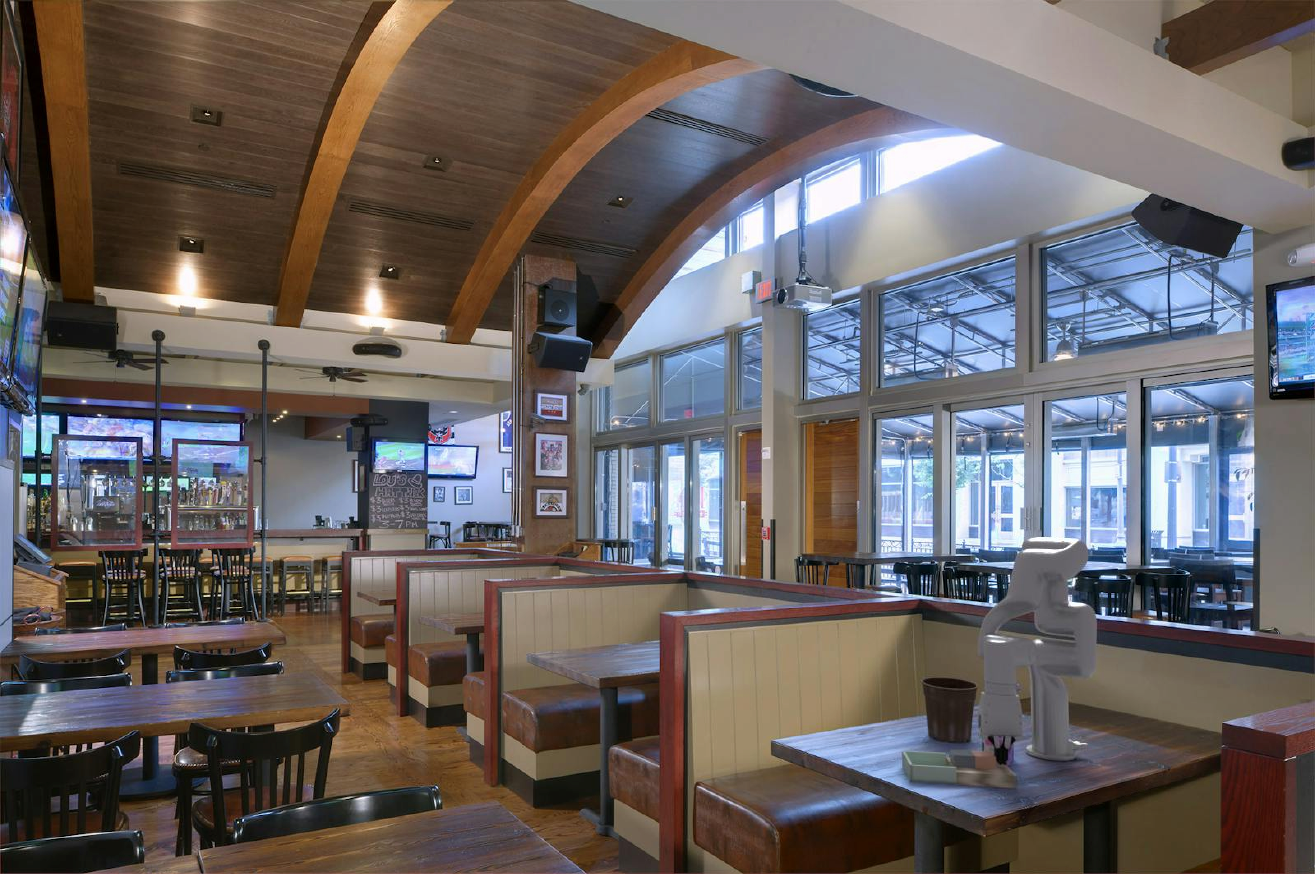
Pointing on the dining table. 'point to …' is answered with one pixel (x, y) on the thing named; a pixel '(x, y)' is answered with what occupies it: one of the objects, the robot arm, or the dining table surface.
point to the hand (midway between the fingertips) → (1001, 762)
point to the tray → (928, 767)
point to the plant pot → (949, 708)
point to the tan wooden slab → (985, 776)
